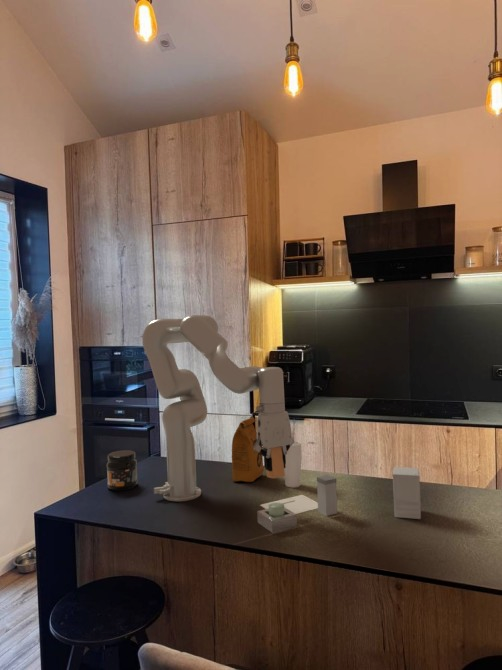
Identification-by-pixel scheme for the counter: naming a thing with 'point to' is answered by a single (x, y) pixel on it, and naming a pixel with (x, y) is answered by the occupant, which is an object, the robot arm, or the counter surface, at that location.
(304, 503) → the sketch pad
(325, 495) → the grey rectangular prism
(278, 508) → the button
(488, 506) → the counter surface
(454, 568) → the counter surface
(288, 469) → the drinking glass
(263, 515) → the button collar
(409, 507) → the supplement box
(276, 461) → the brown box
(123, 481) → the supplement container
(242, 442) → the coffee package
